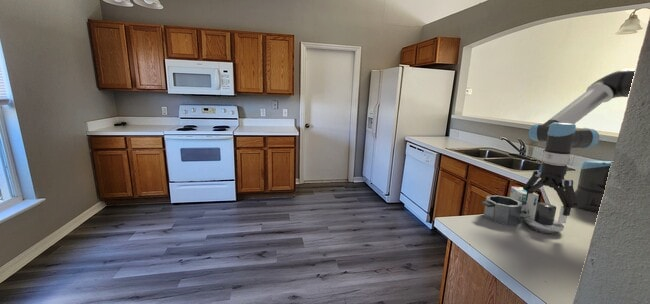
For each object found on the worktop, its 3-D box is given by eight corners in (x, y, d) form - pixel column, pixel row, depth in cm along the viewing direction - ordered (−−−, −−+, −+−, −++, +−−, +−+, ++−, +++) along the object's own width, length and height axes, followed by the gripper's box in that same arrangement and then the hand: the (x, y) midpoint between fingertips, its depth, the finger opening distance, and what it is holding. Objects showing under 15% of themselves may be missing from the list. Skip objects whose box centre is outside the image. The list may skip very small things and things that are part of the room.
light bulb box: (535, 218, 118) (539, 195, 116) (518, 216, 120) (522, 193, 118) (522, 208, 129) (526, 187, 127) (507, 207, 130) (510, 186, 128)
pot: (506, 211, 126) (509, 194, 124) (531, 223, 113) (534, 205, 112) (472, 212, 123) (474, 196, 121) (494, 226, 110) (496, 207, 109)
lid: (540, 221, 116) (545, 199, 114) (571, 235, 104) (576, 211, 102) (515, 222, 114) (519, 200, 112) (543, 237, 102) (548, 212, 100)
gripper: (518, 156, 115) (510, 203, 119) (581, 172, 91) (569, 230, 95) (533, 156, 116) (525, 202, 120) (600, 171, 92) (586, 229, 96)
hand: (544, 215), depth 108 cm, fingers open, 13 cm apart
